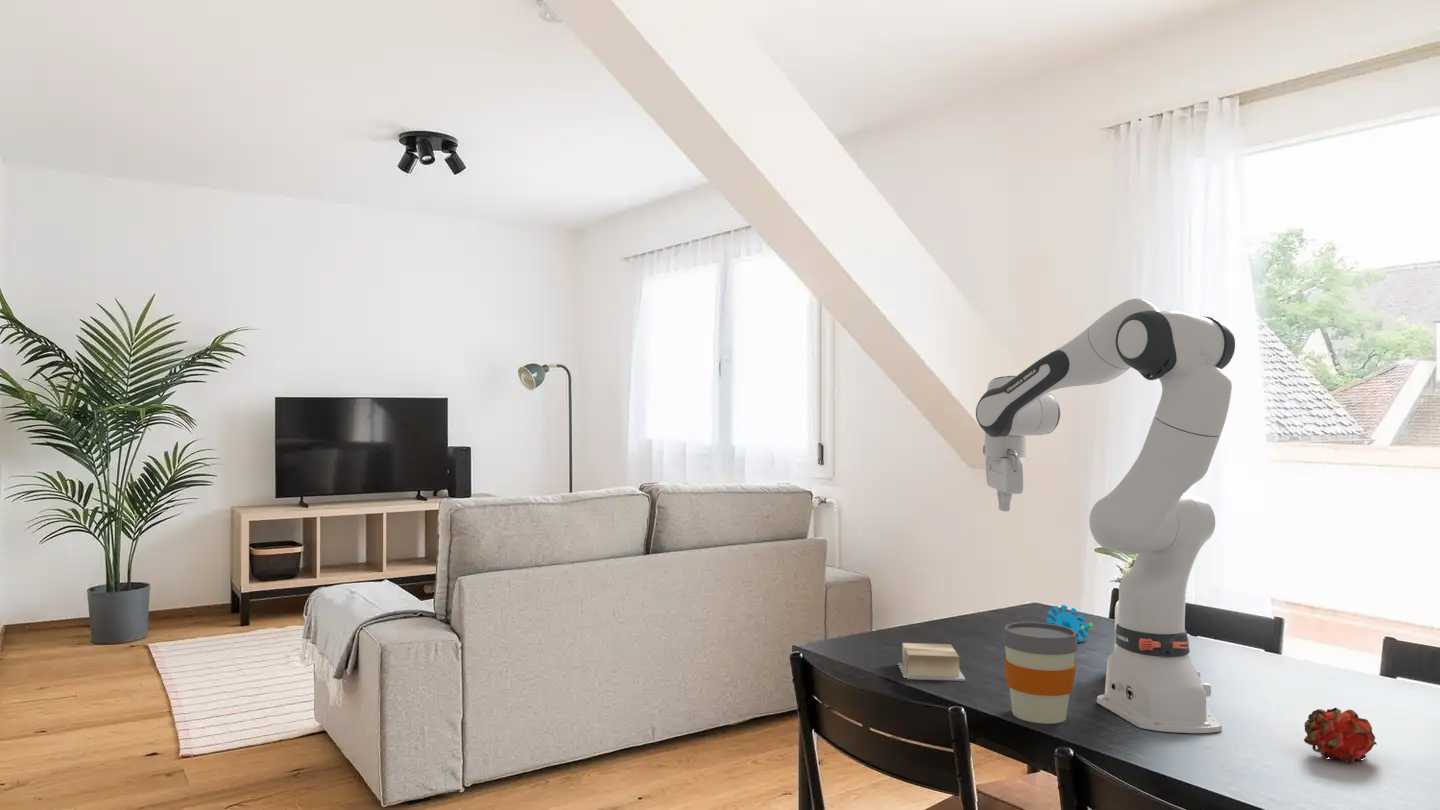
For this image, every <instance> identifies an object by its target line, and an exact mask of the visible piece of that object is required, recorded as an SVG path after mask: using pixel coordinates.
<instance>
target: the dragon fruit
mask: <svg viewBox="0 0 1440 810" xmlns="http://www.w3.org/2000/svg"><path fill="white" fill-rule="evenodd" d="M1307 717H1308V719H1307V720H1306V721H1305V722H1304V732H1305V733H1306V736H1304V738H1303V742H1304V743H1306V744H1308V745H1309V746H1312V747H1311V748H1312V751H1313V752H1316V753H1320V754H1321V755H1322V756H1323V757H1324V758H1325V759H1326V758H1328V757H1329V758H1330V759H1331V760H1332V759H1333V758H1335V757H1337V758H1339V759H1340V760H1341V761H1343V762H1348V763H1349V764H1352V763H1355V760H1356V759H1357V761H1358V760H1361V759H1363V758H1364V759H1365V757H1366V758H1367V755H1366V754H1367V753H1369V752H1370V751H1371V750H1372V749H1373V747H1374V746H1377V744H1378V743H1377V741H1376V735H1375V734H1374V733H1373V727H1372V725H1371V723H1370V721H1369V720H1368V719H1366V718H1361V717H1359V715H1358V713H1357V712H1355V711H1354V710H1353V709H1347V710H1346V709H1345V711H1342V710H1341V709H1340V708H1338V707H1334V708H1329V709H1328V708H1327V710H1324V709H1321V708H1317V709H1315V710H1313V711H1312V712H1311V713H1310V714H1309V715H1308V716H1307Z"/></svg>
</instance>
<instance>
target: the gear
mask: <svg viewBox="0 0 1440 810" xmlns="http://www.w3.org/2000/svg"><path fill="white" fill-rule="evenodd" d="M1060 610H1061V612H1059V606H1058V605H1053V606H1052V608H1051V610H1048V611H1047V613H1046V616H1047V619H1046V621H1045V623H1047V624H1054V625H1059V626H1063V627H1067V628H1070V629H1072V630H1074V631H1075V632H1076V635H1077V643H1082V642H1083V641H1084V639H1085V638H1087V637H1088V635H1090V633H1089V632H1088V631H1089V630H1091V629H1092V628H1093V626H1094V624H1093V623H1092V622H1088V623H1086V622H1084V621H1085V618H1086V617H1085V616H1084V615H1083V614H1080V615H1078V616H1075V615H1076V614H1077V612H1078V610H1077V609H1076V608H1074V607H1072V608H1071V610H1070V612H1066V611H1067V610H1068V606H1067V605H1065V604H1062V605H1061V606H1060Z"/></svg>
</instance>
